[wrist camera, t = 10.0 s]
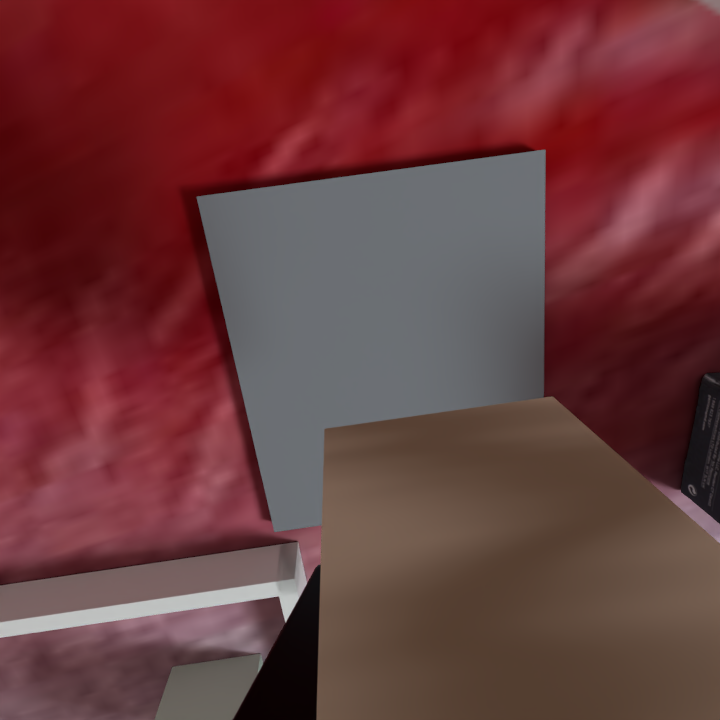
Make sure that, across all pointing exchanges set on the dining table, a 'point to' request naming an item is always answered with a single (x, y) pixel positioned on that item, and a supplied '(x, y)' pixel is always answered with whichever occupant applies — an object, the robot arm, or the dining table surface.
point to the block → (208, 689)
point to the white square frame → (153, 589)
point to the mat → (377, 304)
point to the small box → (705, 450)
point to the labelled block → (508, 576)
